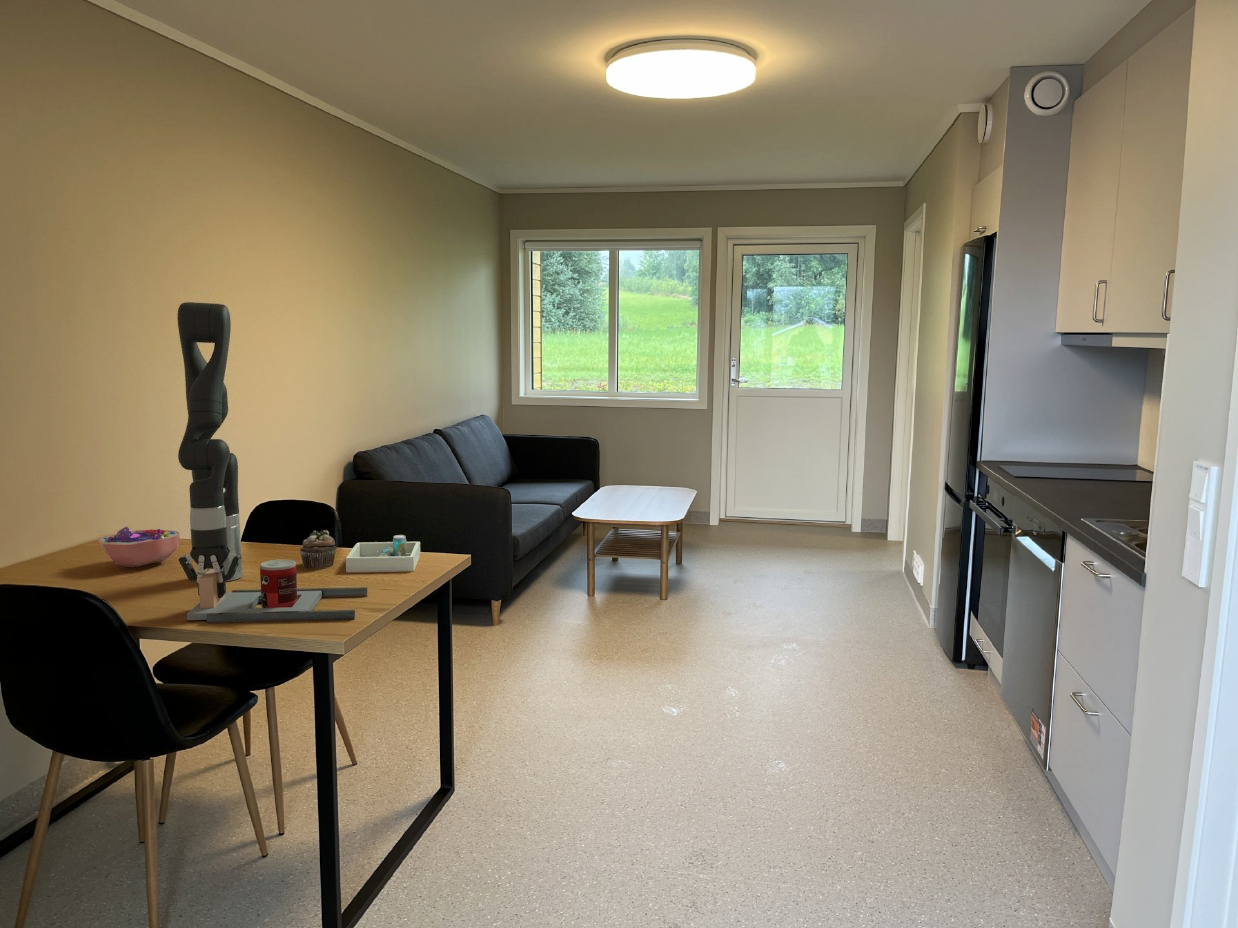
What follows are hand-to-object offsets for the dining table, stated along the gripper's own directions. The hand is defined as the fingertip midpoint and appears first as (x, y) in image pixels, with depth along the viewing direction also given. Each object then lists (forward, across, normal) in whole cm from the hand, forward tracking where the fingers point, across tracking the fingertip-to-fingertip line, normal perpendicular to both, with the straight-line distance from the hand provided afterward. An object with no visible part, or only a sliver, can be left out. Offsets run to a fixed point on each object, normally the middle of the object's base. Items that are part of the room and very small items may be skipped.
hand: (212, 597), depth 204 cm
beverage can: (+4, +36, +40) cm, 54 cm away
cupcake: (+3, +16, +39) cm, 42 cm away
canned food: (+3, +15, 0) cm, 15 cm away
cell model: (+3, -32, +43) cm, 54 cm away
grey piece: (+3, +10, 0) cm, 10 cm away
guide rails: (+3, +18, 0) cm, 18 cm away
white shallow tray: (+3, +34, +40) cm, 52 cm away
